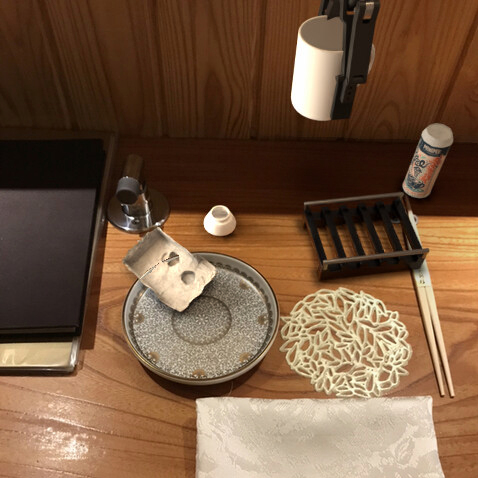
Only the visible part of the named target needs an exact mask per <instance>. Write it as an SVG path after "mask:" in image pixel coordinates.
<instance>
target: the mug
mask: <svg viewBox="0 0 478 478" xmlns="http://www.w3.org/2000/svg"><path fill="white" fill-rule="evenodd" d="M342 41H343V22H342V21H341V20H340V17H334V18H332V19H330V20H327V15H325V16H318V15H317V16H313V17H310V18H307V20H305V21H303V22H302V23H301V25H300V26H299V27H298V33H297V44H296V49H295V59H294V67H293V77H292V85H291V94H290V95H291V96H290V99H291V104H292V106H293V108H294V109H295V110H296V112H297V113H299V114H300V115H301V116H303V117H305V118H307V119H310V120H313V121H321V122H322V121H332V120H331V119H330V113H331V108H332V103H333V97H334V92H335V87H336V79H335V76H338V75H341V63H342V56H343V51H342ZM375 57H376V48H375V45H374V43H372V50H371V56H370V63H369V69H368V75H369V74H370V72H371V69H372V68H373V65H374V61H375ZM359 86H361V84H357V88H358V87H359Z"/></svg>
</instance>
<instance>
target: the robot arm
mask: <svg viewBox="0 0 478 478" xmlns="http://www.w3.org/2000/svg"><path fill="white" fill-rule="evenodd" d="M319 3H320V4H319V9H318V13H317V16H325V15H327V20H330V19H332V18H334V17H340V20H341V21H342V22H343V41H342V51H343V56H342V63H341V75H338V76H335V79H336V87H335V92H334V97H333V103H332V108H331V113H330V119H331V120H330V121H339V120H349V119H351V115H352V110H353V106H354V101H355V97H356V92H357V88H358V87H357V84H360V85H366V84H367V81H368V75H369V74H368V69H369V64H370V62H371V50H372V43H373V42H374V35H375V31H376V23H377V19H378V16H379V12H380V10H381V9H380V8H381V1H380V0H320V2H319ZM352 12H353V13H352ZM349 13H350V14H349ZM373 44H374V43H373Z"/></svg>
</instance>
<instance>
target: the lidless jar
mask: <svg viewBox="0 0 478 478" xmlns="http://www.w3.org/2000/svg"><path fill="white" fill-rule="evenodd" d="M203 225H204V229H205V230H206V231H207V233H209V234H210V235H213V236H216V237H217V236H218V237H224V236H227V235H228V236H229V234H232V233H233V231H234V230H235V229H236V226H237V221H236V217H235V216H234V215H233V213H232V212H231V211H230V209H229V208H228V207H227V206H225V205H215V206H213V207H212V208H211V209H210V211H209V212H208V213H207V214H206V216H205V217H204V220H203Z"/></svg>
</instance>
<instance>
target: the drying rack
mask: <svg viewBox="0 0 478 478" xmlns="http://www.w3.org/2000/svg"><path fill="white" fill-rule="evenodd" d="M404 196H405V193H404V191H399V192H388V193H378V194H368V195H359V196H349V197H339V198H328V199H320V200H319V199H318V200H308V201H304V202H303V209H302V215H301V219H300V223H301V226H302V229H303V230H307V232H308V235H309V239H310V242H311V244H312V248H313V250H314V254H315V257H316V259H317V263H318V266H317V271H316V276H317V278H318V281H319V282H323V281H331V280H339V279H340V280H341V279H347V278H355V277H364V276H373V275H381V274H389V273H390V274H391V273H399V272H406V271H414V270H421V269H422V266H423V264H424V262H425V260H426V258H427V257H428V256H427V255H428V253H430V248H429V247H425V248H423V246H422V244H421V241H420V240H419V237H418V235H417V233H416V231H415V228H414V227H413V224H412V221H411V220H410V217H409V215H408V213H407V211H406V209H405V206H404V204H403V201H402V199H403V197H404ZM391 198H393V199H392V203H390V204H389V203H388V204H385V203H384V200H383V199H391ZM381 199H382V200H381ZM372 200H376V201H375V202H374V205H371V206H370V205H369V206H367V205H366V202H362V201H372ZM353 202H359V203H357V205H356V207H351V208H349V206H348V204H343V203H353ZM332 204H340V205H339V207H338V209H332V210H331V209H330V206H328V205H332ZM325 205H327V206H325ZM312 206H321V208H320V211H312V209H311V208H310V207H312ZM393 220H398V221H399V224H400V226H401V228H402V232H403V233H404V236H405V238H406V240H407V242H408V244H409V247H410V249H408V250H407V249H406V250H404V248H403V245H402V242H401V240H400V238H399V236H398V233H397V231H396V228H395V225H394V223H393ZM375 222H380V223H381V225H382V228H383V231H384V233H385V235H386V238H387V240H388V243H389V245H390V248H391V250H392V251H390V252H385V250H384V247H383V244H382V242H381V240H380V237H379V234H378V231H377V230H376V226H375V224H374V223H375ZM355 224H356V225H357V224H362V225H363V228H364V230H365V233H366V235H367V238H368V240H369V243H370V246H371V247H372V251H373V253H372V254H366V251H365V250H364V246H363V243H362V240H361V239H360V236H359V233H358V230H357V227H356V225H355ZM337 226H344V228H345V231H346V234H347V236H348V240H349V242H350V245H351V248H352V250H353V253H354V255H355V256H347V254H346V251H345V249H344V245H343V243H342V240H341V237H340V234H339V232H338V227H337ZM318 228H326V232H327V235H328V237H329V240H330V243H331V246H332V249H333V252H334V255H335V257H336V258H329V259H328V257H327V254H326V251H325V248H324V244H323V242H322V238H321V235H320V233H319V230H318Z"/></svg>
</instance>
